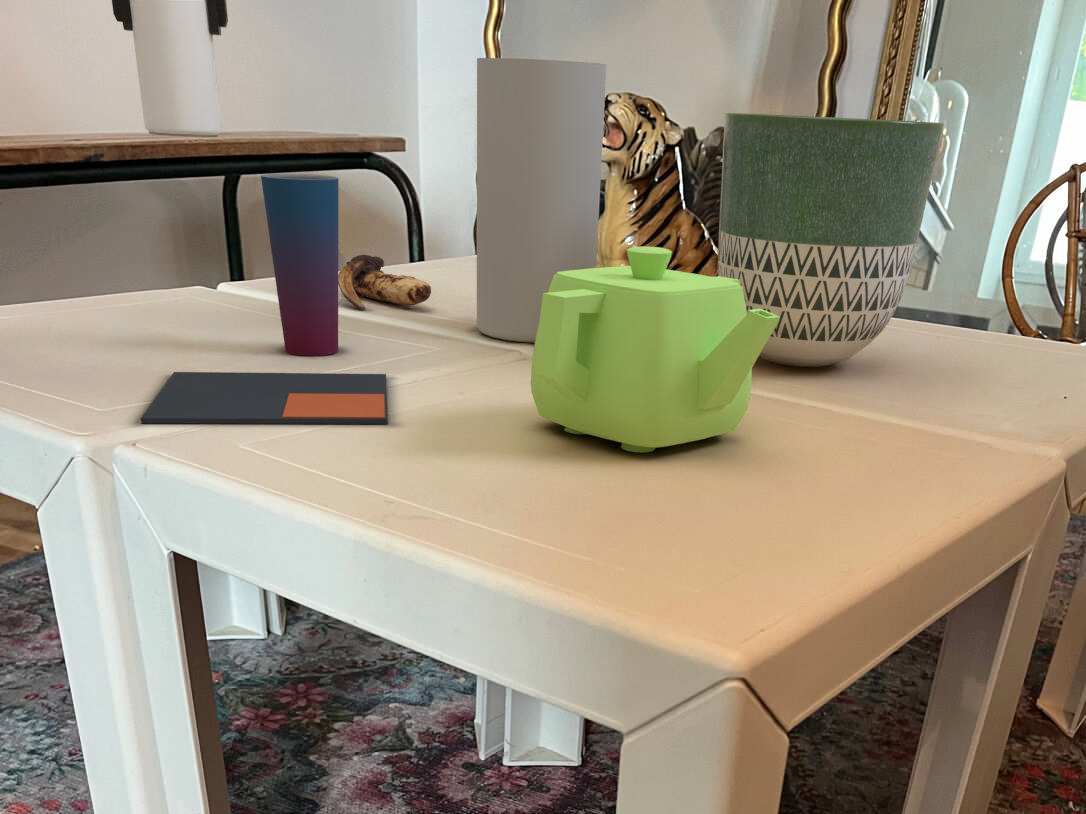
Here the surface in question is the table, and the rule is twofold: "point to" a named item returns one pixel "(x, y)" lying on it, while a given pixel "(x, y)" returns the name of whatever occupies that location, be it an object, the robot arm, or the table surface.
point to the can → (176, 67)
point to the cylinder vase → (534, 184)
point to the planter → (823, 225)
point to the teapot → (646, 352)
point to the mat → (270, 399)
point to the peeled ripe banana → (379, 283)
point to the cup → (305, 258)
